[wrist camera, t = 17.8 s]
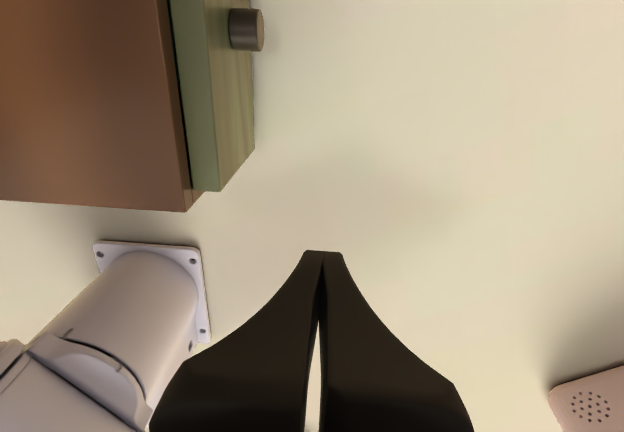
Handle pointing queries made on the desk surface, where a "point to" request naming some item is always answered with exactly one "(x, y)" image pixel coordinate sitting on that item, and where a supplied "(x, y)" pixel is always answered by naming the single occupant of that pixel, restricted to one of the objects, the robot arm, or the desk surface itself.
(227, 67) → the drawer
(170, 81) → the cabinet
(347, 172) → the desk surface
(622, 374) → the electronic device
